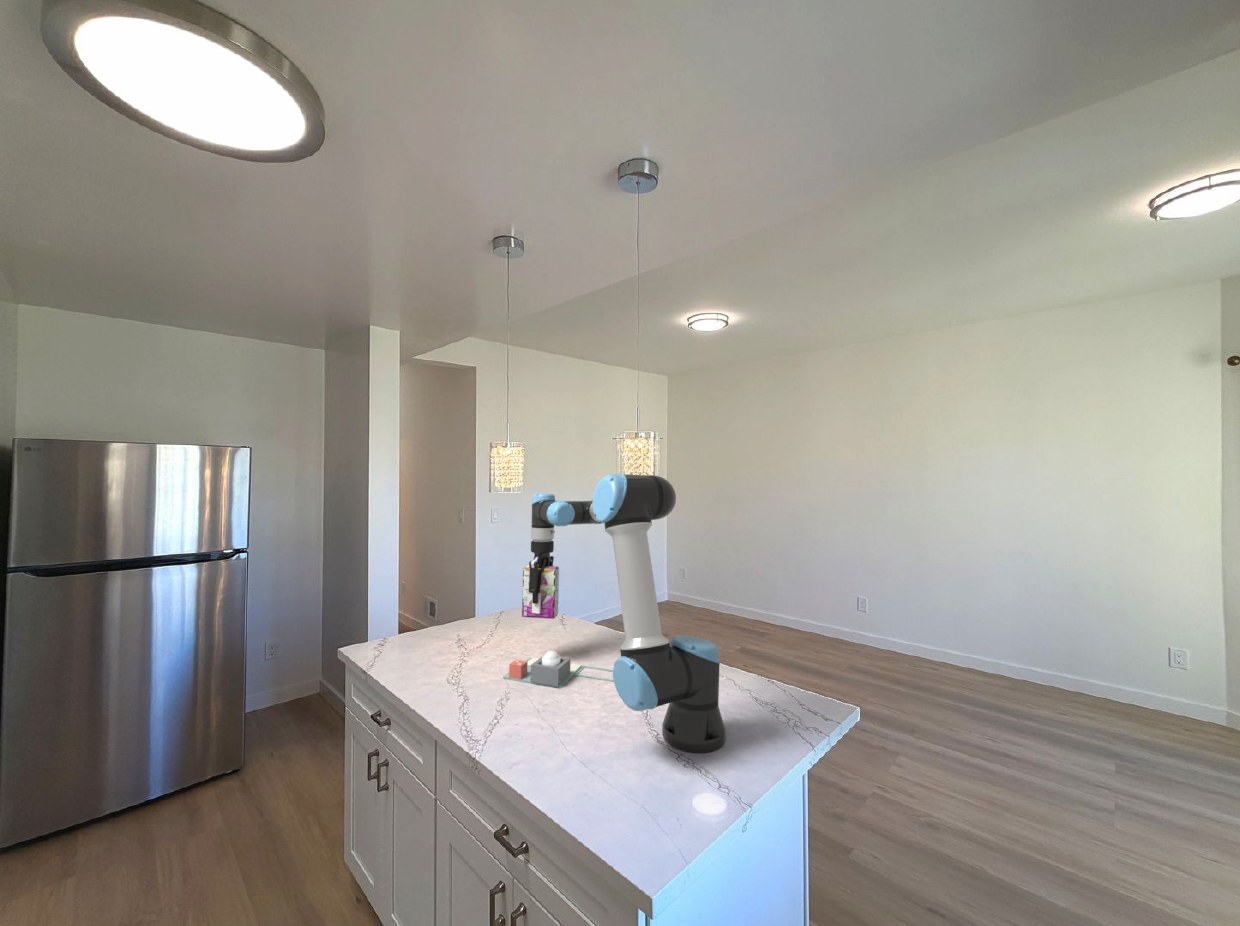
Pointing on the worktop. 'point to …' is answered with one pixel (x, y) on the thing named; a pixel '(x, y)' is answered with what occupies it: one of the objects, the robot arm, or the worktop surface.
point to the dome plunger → (551, 659)
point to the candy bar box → (542, 593)
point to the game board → (542, 672)
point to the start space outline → (590, 676)
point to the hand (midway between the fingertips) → (540, 610)
